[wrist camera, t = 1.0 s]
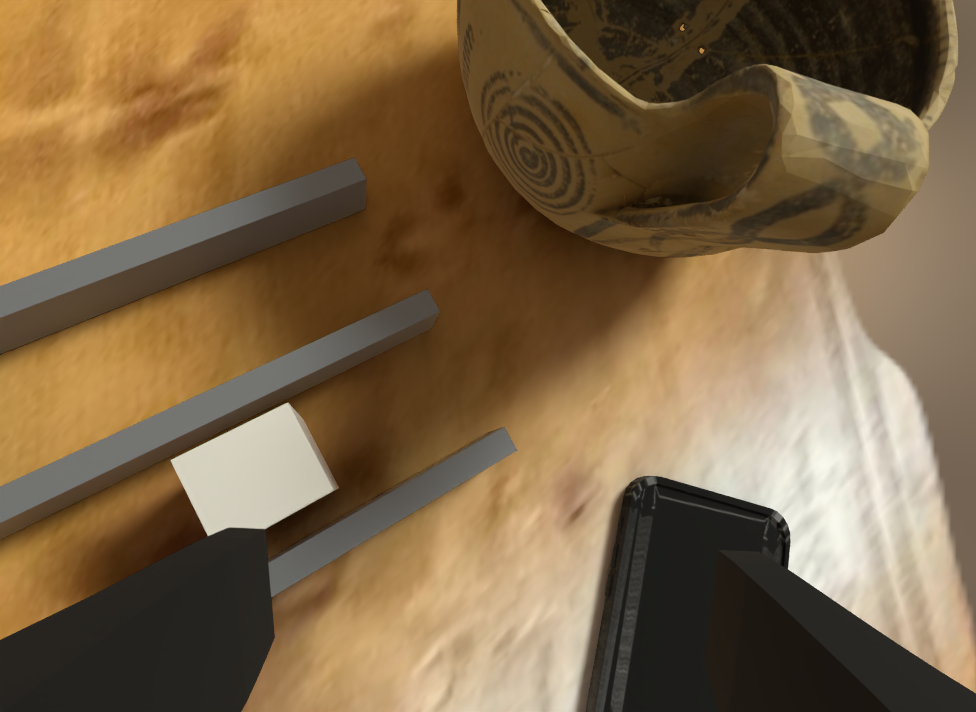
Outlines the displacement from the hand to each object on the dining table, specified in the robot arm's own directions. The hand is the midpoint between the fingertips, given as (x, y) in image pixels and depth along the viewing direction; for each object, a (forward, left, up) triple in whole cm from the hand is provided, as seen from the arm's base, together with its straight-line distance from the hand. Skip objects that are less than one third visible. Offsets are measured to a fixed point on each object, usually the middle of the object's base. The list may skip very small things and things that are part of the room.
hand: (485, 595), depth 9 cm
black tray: (+7, -11, -14) cm, 19 cm away
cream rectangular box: (-3, +4, -13) cm, 14 cm away
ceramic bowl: (+17, +11, -14) cm, 24 cm away
